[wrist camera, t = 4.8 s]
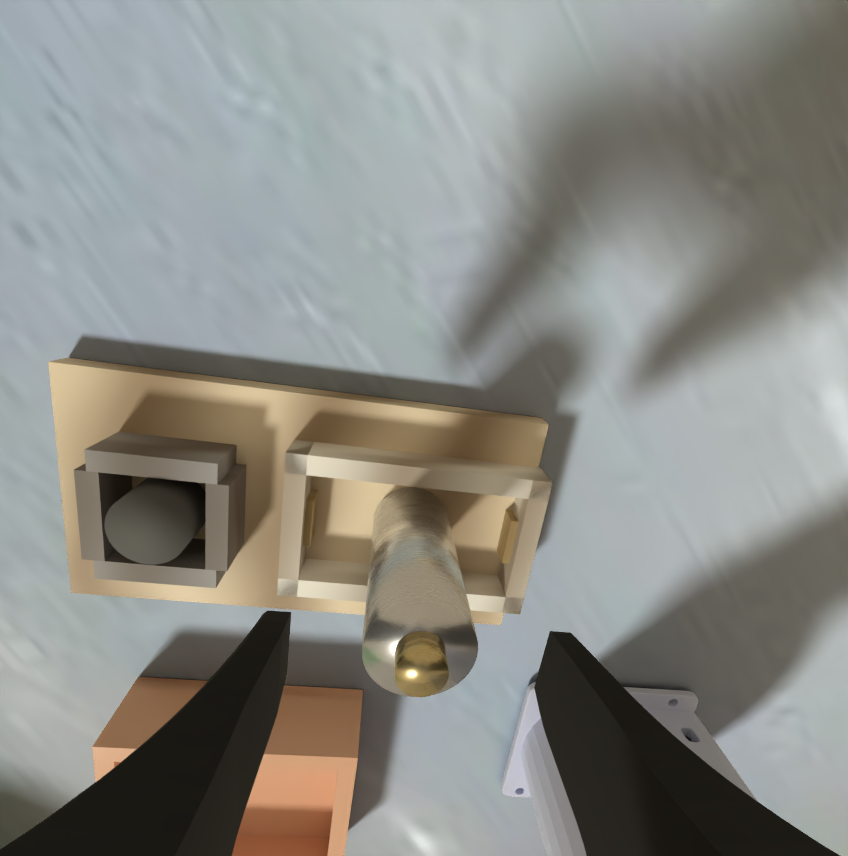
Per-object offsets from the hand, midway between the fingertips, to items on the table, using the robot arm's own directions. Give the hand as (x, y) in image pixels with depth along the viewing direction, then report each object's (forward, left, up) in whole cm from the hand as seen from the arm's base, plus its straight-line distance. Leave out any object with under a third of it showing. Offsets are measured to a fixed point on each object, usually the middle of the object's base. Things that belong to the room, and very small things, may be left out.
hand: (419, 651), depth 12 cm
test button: (+10, 0, -7) cm, 12 cm away
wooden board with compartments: (+4, 0, -8) cm, 9 cm away
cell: (0, 0, -7) cm, 7 cm away
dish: (+6, +16, -8) cm, 19 cm away
